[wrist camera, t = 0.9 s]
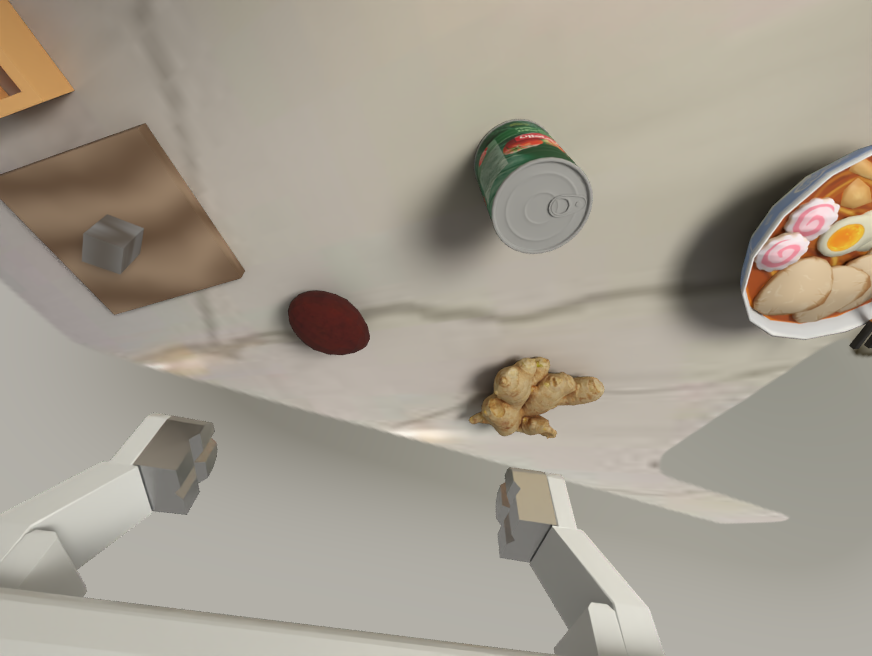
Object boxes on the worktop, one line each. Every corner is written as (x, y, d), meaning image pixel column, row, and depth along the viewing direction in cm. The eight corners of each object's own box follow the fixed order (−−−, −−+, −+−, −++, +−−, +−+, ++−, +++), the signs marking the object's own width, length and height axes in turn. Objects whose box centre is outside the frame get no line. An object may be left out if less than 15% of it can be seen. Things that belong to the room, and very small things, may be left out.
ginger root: (441, 403, 62) (456, 444, 55) (513, 316, 58) (540, 348, 51) (518, 438, 70) (540, 478, 63) (587, 363, 65) (619, 397, 58)
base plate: (-4, 176, 40) (-53, 200, 36) (145, 123, 38) (112, 142, 34) (121, 306, 50) (94, 337, 46) (245, 270, 48) (229, 299, 44)
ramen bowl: (762, 98, 40) (830, 122, 33) (1001, 89, 40) (1112, 110, 34) (673, 313, 56) (708, 357, 49) (846, 304, 56) (901, 346, 50)
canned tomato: (476, 205, 45) (492, 260, 36) (471, 125, 40) (489, 166, 31) (552, 195, 44) (587, 247, 36) (557, 112, 39) (599, 151, 31)
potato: (311, 266, 48) (301, 298, 44) (385, 310, 53) (383, 343, 48) (280, 307, 52) (268, 341, 47) (352, 345, 56) (347, 380, 51)
